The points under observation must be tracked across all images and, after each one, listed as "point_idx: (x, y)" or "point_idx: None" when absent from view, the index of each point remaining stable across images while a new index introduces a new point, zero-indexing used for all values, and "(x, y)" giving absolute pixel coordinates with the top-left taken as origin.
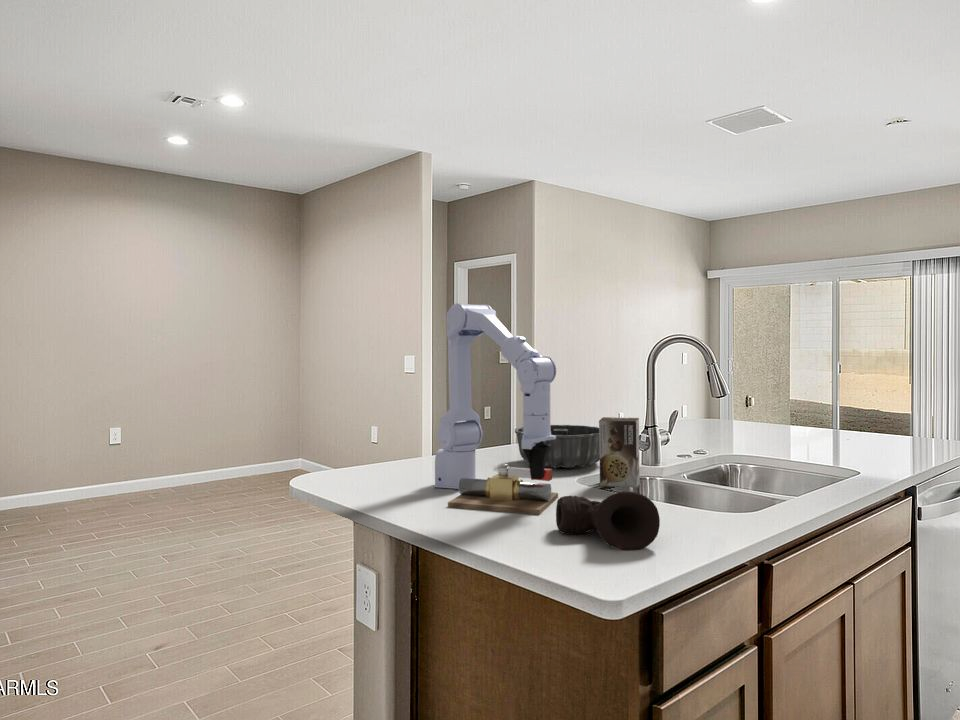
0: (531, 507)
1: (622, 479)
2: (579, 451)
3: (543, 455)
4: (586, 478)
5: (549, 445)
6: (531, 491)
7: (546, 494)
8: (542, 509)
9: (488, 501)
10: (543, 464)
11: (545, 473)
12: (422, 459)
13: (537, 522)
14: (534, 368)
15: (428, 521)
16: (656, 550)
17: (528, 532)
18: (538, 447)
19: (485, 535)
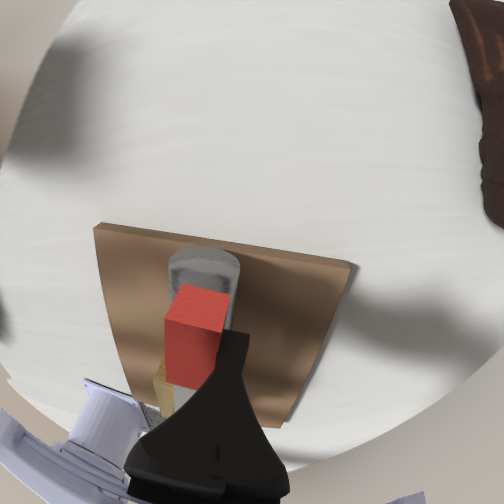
0: (322, 295)
1: None
2: None
3: (267, 442)
4: None
5: (192, 486)
6: (232, 324)
7: (239, 270)
8: (313, 259)
9: (261, 386)
10: (243, 387)
11: (221, 335)
12: (34, 404)
13: (425, 259)
14: None
15: (378, 417)
16: None
17: (486, 269)
18: (278, 501)
19: (477, 335)
